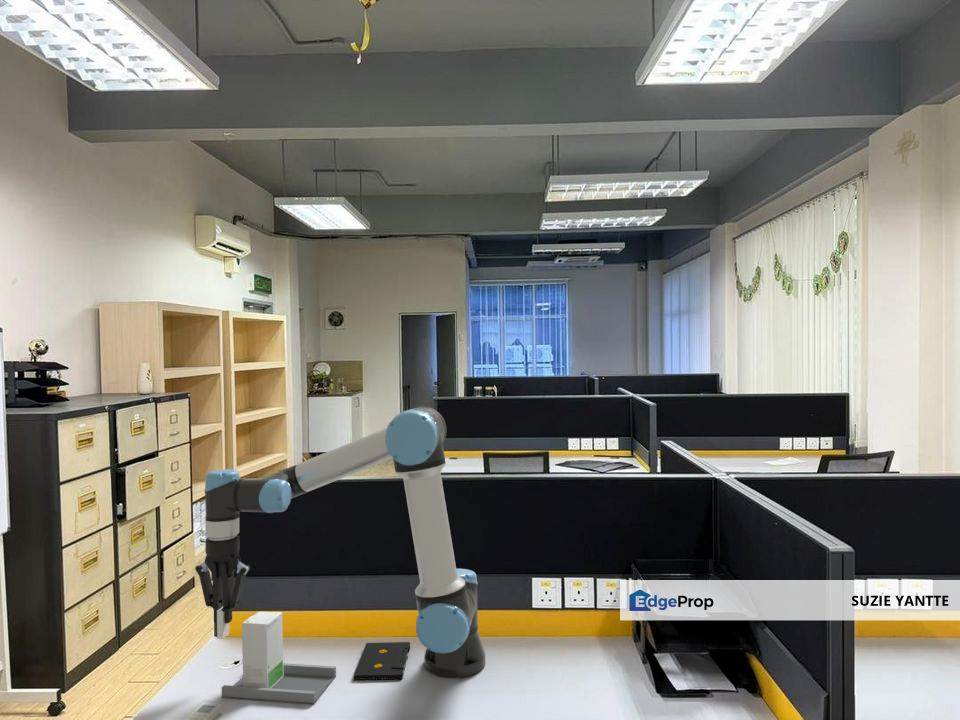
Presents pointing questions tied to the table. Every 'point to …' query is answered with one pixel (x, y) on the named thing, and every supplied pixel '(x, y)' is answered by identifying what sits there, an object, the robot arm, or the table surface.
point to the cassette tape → (382, 661)
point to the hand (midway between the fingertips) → (223, 636)
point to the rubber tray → (288, 685)
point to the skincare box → (262, 650)
